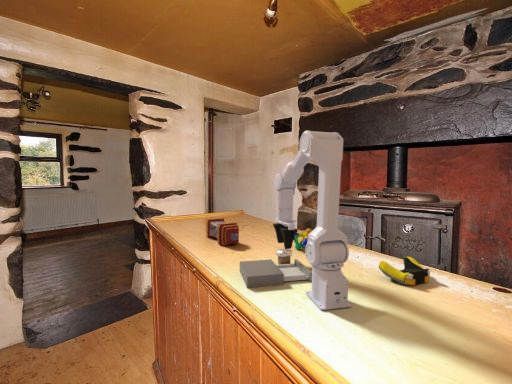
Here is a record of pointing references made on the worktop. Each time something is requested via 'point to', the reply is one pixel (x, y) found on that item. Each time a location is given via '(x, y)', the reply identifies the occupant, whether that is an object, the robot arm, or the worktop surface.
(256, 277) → the box
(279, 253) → the disc
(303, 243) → the decorative model
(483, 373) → the worktop surface
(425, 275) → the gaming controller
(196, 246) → the worktop surface
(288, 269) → the tray
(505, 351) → the worktop surface
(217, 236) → the lantern
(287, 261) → the walnut block
